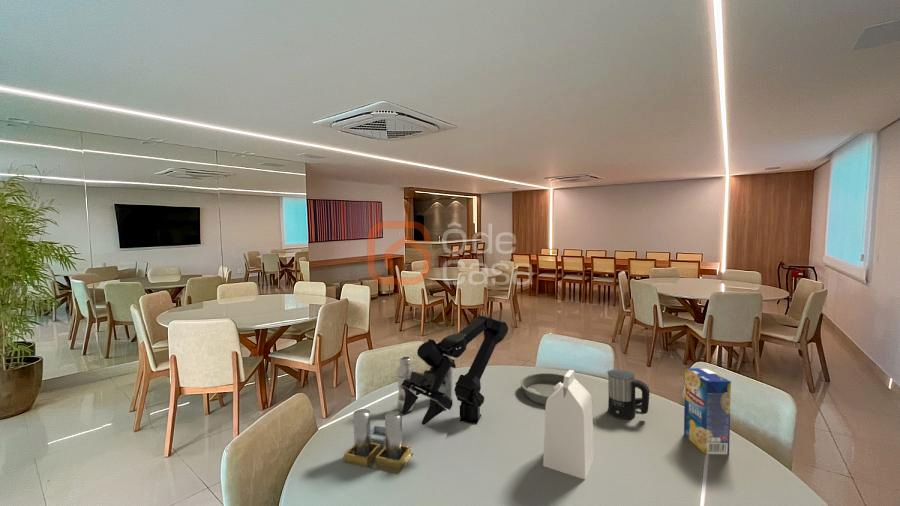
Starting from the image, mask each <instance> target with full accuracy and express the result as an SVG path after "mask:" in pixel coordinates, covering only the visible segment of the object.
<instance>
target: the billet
mask: <svg viewBox="0 0 900 506" xmlns="http://www.w3.org/2000/svg"><path fill="white" fill-rule="evenodd" d="M384 416H385V417H384V427H385V433H384V435H385V437H384V439H385V440H386V445H385V446H386V458H390V459H394V460H399V459H400V458H401V457H402V445H403V414H402V411H400V410H391V411H388V412H386V413H385V414H384Z"/></svg>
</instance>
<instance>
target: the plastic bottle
mask: <svg viewBox="0 0 900 506" xmlns="http://www.w3.org/2000/svg"><path fill="white" fill-rule="evenodd" d="M399 364H400V365H399V366H398V367H397V370H396V378H397V386H398V394H397V395H398V398H397V404H396V405H397V408H398V411H399V412H402V410H403V406H404V401H405V391H404V389H403V386H402V383H403V381H404V380H405V379H407V378H408V379H410V376H411V373H412V371H413V372H415V370H414V368H413V366H412V365H411V357H409V356H401V357H400V359H399ZM404 388H405V387H404ZM415 406H416V402H415V403H414V404H413V405H412V407H411V408H410V409H409V411H408V412H412V411H413V410H414V408H416V407H415ZM408 412H407V413H408Z"/></svg>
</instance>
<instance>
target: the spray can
mask: <svg viewBox="0 0 900 506" xmlns="http://www.w3.org/2000/svg"><path fill="white" fill-rule="evenodd" d="M443 355H445V354H443ZM445 356H447V357H448V358H449V359H453V360H454V357H451V356H448V355H445ZM454 369H455V368H452V367H451V368H450V369H449V371H448V373H447V375H446V377H445V379H444V381H445V382H446V383H445V385H443V384H442V385H441V387H440V388H439V390H438V391H439V392H442V393H444V394H446V395H447V396H448V397H449V398H450V399H452V401H454V398H455V396H454V394H455V386H454V384H455V383H454V379H455V378H454V376H455V375H454Z"/></svg>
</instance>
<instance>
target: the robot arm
mask: <svg viewBox="0 0 900 506" xmlns="http://www.w3.org/2000/svg"><path fill="white" fill-rule="evenodd" d="M508 332H509V327H508V325H507V322H505V321H502V320H496V319H493V318H491V317H490V316H485V315H478V316H477V317H476V319H474V320H473V321H472V322H471V323H469V324H468V325H466V327H463V329H462V330H460V331H458V332H457V333H453V334H450V335H448V336H446V337H443V338H442V339H441V341H440V342H439V341H438V343H437V342H436V341H435V340H434V339H432V338H429V339H428V340H427V341H425V342H423V343H422V344H421V345H419V347H417V348H418V349H417V351H416V352H417V356H418V358H419V359H421V360H422V361H423V362H424V363H425V364H426V365H428V367H430V368H429V369H425V370H424V371H423V373H422V372H418V371H414V372H413V371H412V373H411V376H410V379H408V378H407V379H405V380H404V381H403V383H402V386H403V389H404V391H405V401H404V406H403V410H402V411H401V413H402V416H403V415H404V416H405V415H406V414H407V413H408V411H409V409H410V408H411V407H412V405H413V404H414V403H415V404H416V402H417V400H418V399H419V397H418V396H419V395H423V396H425V397H427V398H429V406H428V408H427V410H426V412H425V414H424V417H423V418H422V420H421V425H423V426H425V425H426V424H428V423H429V422H430V421H431V420H432V419H434V418H435V417H436V416H438V415H440V414H441V413H443V412H446V411H447V410H449V411H451V409H452V407H453V403H454V402H453V400H452V399H450V398H449V397H448V396H447V395H446V394H444V393H442V392H439V391H438V390H439V388H440V387H441V385H442V384H443V385H445V383H446V382H445V381H444V379H445V377H446V375H447V373H448V371H449V369H450V368H451V367H452V368H454V369H456V368H457V367H456V362H455V359H454V358H456V359H457V358H458V359H459V358H460V357H461V356H462V355H463V354H464V352H465V351H466V350H467V346H468V344H469V343H470V342H472V341H473V340H474V339H476V338H477V337H478V336H479V335H480V334H481V333H483V340H482V342H481V344H480V346H479V349H478V351H477V353H476V355H475V357H474V360H473V361H472V363H471V365H470V368H469V369H468V371H467V373H465V374H460V375H459V376H458V380H457V381H456V382H455V383H454V384H455V386H454V394H455V396H456V401H459V402H460V405H459V422H462V423H467V424H468V423H469V424H473V425H477V424H478V423H479V421H480V419H482V418H481V417H482V414H481V407H482V405H483V404H484V401H485V396H484V395H482V393H481V389H482V387H481V386H482V385H481V378H482V376H483V374H484V371H485V370H486V368H487V365H488V363H489V361H490V359H491V356H492V355H493V353H494V350H495V348H496V346H497V345H498V344H499V343H500V342H502V341H504V339H505V338H506V335H507V333H508ZM443 354H445V355H448V356H451V357H453V359H449V358H448V357H447V356H445V355H443ZM404 387H405V388H404Z"/></svg>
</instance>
